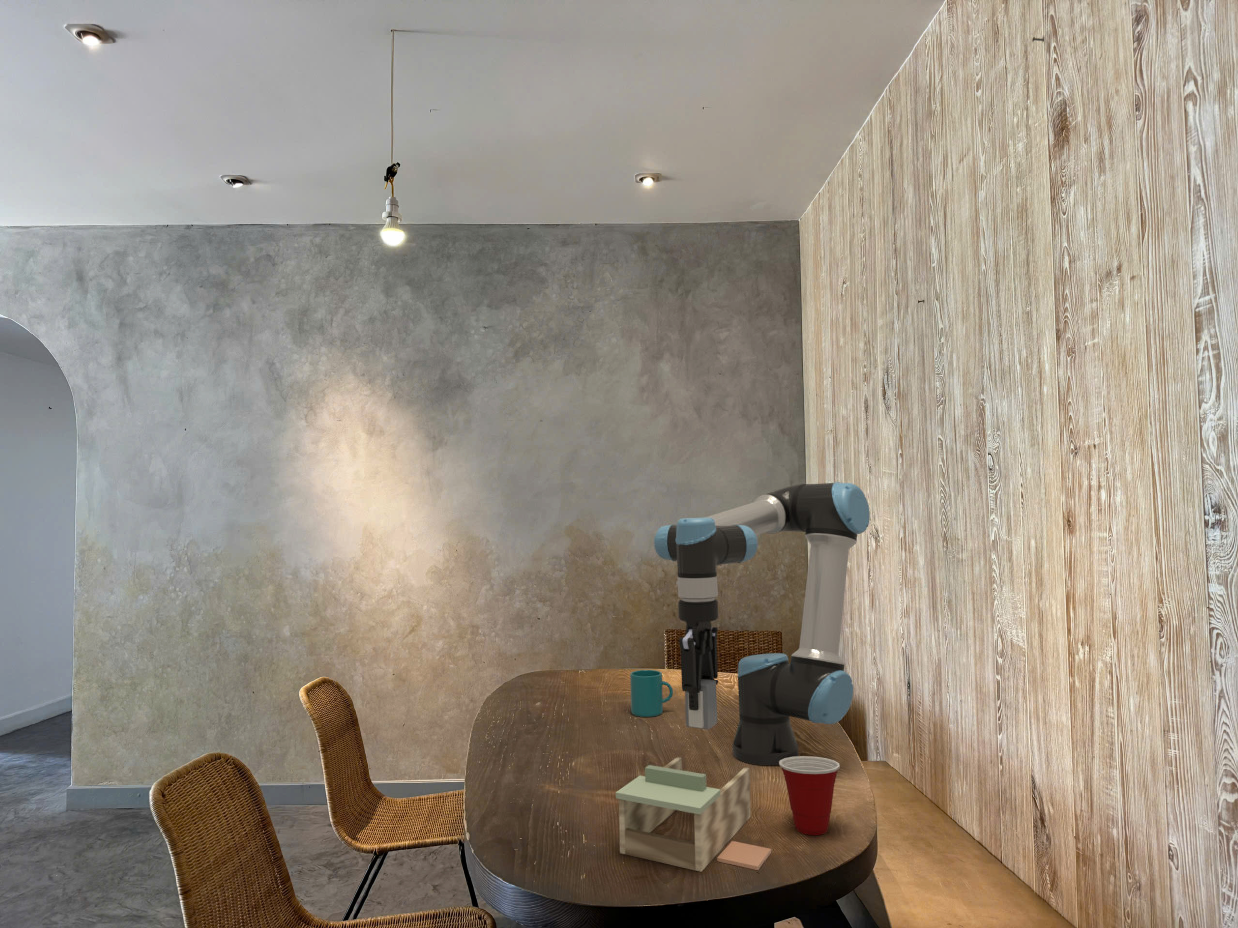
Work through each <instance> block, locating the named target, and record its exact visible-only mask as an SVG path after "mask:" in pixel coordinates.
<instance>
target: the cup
mask: <svg viewBox="0 0 1238 928" xmlns="http://www.w3.org/2000/svg"><path fill="white" fill-rule="evenodd" d="M629 678H630V682H629V683H630V712H631V714H632V715H633V716H636V717H640V718H653V717H654V718H655V717H658V716H660V715H662V713H663V712H664V704H665V703H667V702H669V701H670V700H671V699H672V698H673V695H674V693H673V692H674V689H673V687H672V685H671V684H670V683H669V682H667V681H664V680H663V673H662V672H661V671H659V670H656V669H655V670H654V669H638V670H635V671H632V672H630V674H629ZM663 686H665V687H667V689H668V690H669V691H668V692H669V694H668V696H667V697H665V698H664V697H663Z"/></svg>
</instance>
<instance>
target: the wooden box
mask: <svg viewBox="0 0 1238 928" xmlns="http://www.w3.org/2000/svg"><path fill="white" fill-rule="evenodd" d="M682 762H683V759H682V757H679V756H678V757H675V758H674V759H672V760H671V761H670V762H669V763H667V764H666V765H664V766H663V767H664V768H670V769H676V770H682V771H683V765H682V764H683V763H682ZM750 785H751V782H750V768H749V767H743V768H742V769H741V770H740V771H739V772H738V773H737V774H736V775H735V776H733V778H731V779H730V780H729V781H728V782H727V783H726V784H725V785H724V786H723V787H721V788H720V789H721V795H720V796H719V797H718V798H717V799H716V800H715V801H714V802H713V803H712V804H711V805H710V806H709V807H708V808H707V809H706V810H705V811H704V812H702V813H701V814H695V813H693V814H694V815H693V818H694V821H693V822H694V823H693V824H694V826H693V827H694V841H690V840H685V839H681V838H677V837H673V836H672V837H671V836H667V835H662V834H657V833H652V831H654V830H655V829H656V828H657V827H658V826H659V825H661V824H662V823H663V822H665V820H666V819H668V818H669V817H670V816H671V815H672V814H674V813H675V812H676V811H677V810H674V809H669V808H663V807H658V806H653V805H648V804H643V803H637V802H632V801H627V800H622V799H618V817H619V818H618V819H619V821H618V824H619V854H622V855H626V856H631V857H635V858H640V859H644V860H649V861H652V862H658V863H663V864H667V865H671V866H675V867H679V868H683V869H688V870H691V871H696V872H703V870H705V868H706V867H707V866H708V865H709V864H710V863H711V862H712V861H713V859H714V858H715V857H717V855H718V854H719V853H720V852H721V851H722V850H723V849H724V847H725V846H726V845H727V844H728V843H729V842H730V840H731V839H733V837H734V836H735V835H736V834H737V833H738V832H739V830H740V829H741V828H742V827H743V826H744V825H745V824H746V823H747V822H748V821H749V819H750V818H751V789H750V788H751V786H750Z"/></svg>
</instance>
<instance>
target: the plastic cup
mask: <svg viewBox="0 0 1238 928" xmlns="http://www.w3.org/2000/svg"><path fill="white" fill-rule="evenodd" d="M840 765H841V764H840V763H839V762H838V761H836V760H834V759H830V758H827V757H821V756H820V757H819V756H809V755H808V756H807V755H806V756H805V755H802V756H801V755H800V756H797V757H789V758H784V759H782V760H780V761H779V765H778V766H779V767H781V770H782V774H783V776H784V781H785V784H786V789H787V794H788V801H789V804H790V805H789V806H790V809H791V812H792V813H791V814H792V817H793V824H794V826H795V830H796V831H797V832H799V833H801V834H803V835H808V836H822V835H825V834H826V833H828V831H829V830H828V829H829V825H830V818H831V817H830V816H831V813H832V806H833V797H834V790H835V789H834V788H835V784H836V778H837V773H838V771H839V769H840Z"/></svg>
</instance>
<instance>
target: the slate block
mask: <svg viewBox="0 0 1238 928" xmlns="http://www.w3.org/2000/svg"><path fill="white" fill-rule="evenodd" d="M716 680H717V679H715V680H705V679H701V688H700V691H701V692H703V716H704V727H703V728H699V729H703V730H710V729H711V728H713V727H715V725H716V724H718V707H717V706H718V705H717V685H716ZM684 700H685V701H684V705H685V727H686V728H693V729H698V728H697V727H690V726H689V714H688V692H686V691H684Z"/></svg>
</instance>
